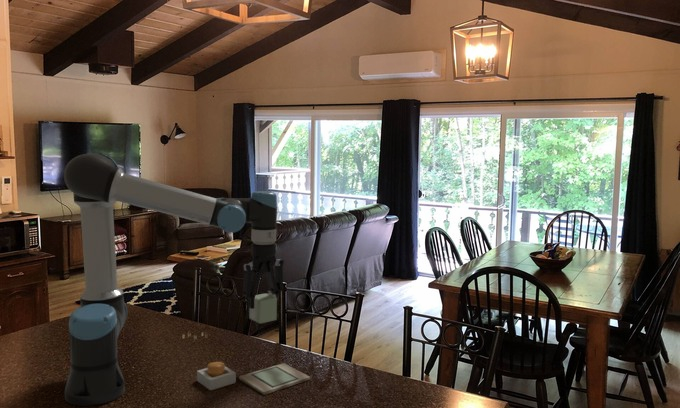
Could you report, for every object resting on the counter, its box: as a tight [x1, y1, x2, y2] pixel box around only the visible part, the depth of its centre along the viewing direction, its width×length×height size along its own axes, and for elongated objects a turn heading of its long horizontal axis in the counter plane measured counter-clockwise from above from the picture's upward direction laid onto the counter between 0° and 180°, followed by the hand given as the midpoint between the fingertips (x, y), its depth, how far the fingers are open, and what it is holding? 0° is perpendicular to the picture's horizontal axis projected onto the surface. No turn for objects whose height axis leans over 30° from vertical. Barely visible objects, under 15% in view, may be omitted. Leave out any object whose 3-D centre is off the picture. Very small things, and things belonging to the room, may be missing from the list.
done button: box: [207, 361, 226, 377], centre depth 164 cm, size 5×5×3 cm
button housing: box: [196, 365, 237, 391], centre depth 165 cm, size 8×8×3 cm
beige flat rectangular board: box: [238, 362, 311, 396], centre depth 167 cm, size 16×13×1 cm
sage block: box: [248, 293, 278, 324], centre depth 177 cm, size 6×6×7 cm
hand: (262, 316), depth 177 cm, fingers closed on sage block, 6 cm apart
